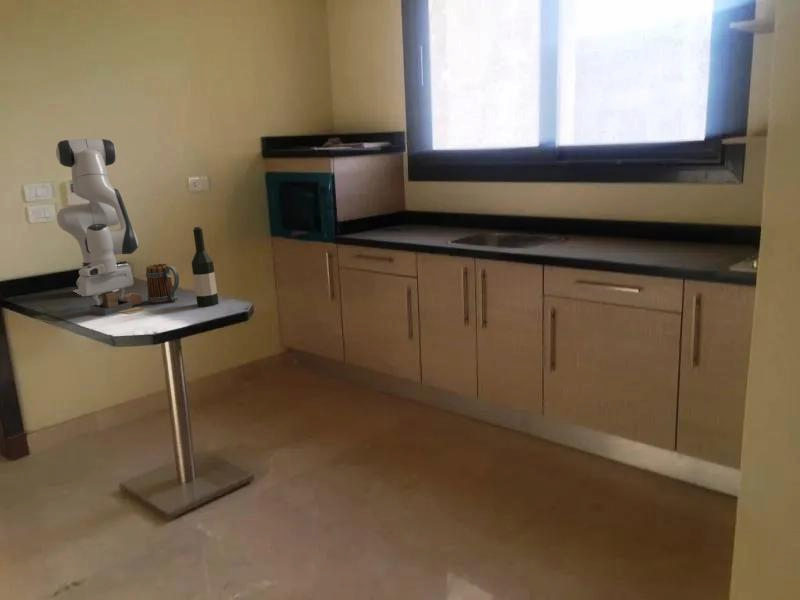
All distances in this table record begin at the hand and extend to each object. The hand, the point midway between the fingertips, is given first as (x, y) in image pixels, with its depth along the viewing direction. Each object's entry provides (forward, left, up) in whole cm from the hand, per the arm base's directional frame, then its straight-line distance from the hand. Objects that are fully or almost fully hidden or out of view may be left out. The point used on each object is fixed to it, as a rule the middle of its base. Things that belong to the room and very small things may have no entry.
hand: (110, 302), depth 258 cm
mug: (+8, +19, -4) cm, 21 cm away
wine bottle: (+28, +24, -4) cm, 37 cm away
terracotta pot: (-3, +10, -4) cm, 11 cm away
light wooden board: (+10, +3, -4) cm, 11 cm away
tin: (0, 0, -4) cm, 4 cm away
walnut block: (0, 0, -3) cm, 3 cm away
